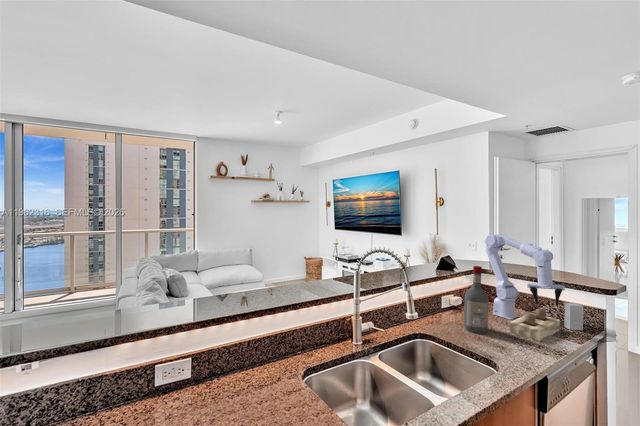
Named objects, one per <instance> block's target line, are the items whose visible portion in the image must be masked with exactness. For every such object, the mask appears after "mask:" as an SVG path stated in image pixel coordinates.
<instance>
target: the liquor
mask: <svg viewBox="0 0 640 426" xmlns="http://www.w3.org/2000/svg"><path fill="white" fill-rule="evenodd" d="M472 269H473V271H472V274H473V277H472V278H473V279H472V284H471V285H472V286H470V288H468V289H467V290H466V291H465V293H464V300H463V301H464V302H463V303H464V305H463V306H464V307H463V326H464V328H465V329H466V331H468V332H471V333H475V334H477V333H478V334H486V333H487V331H488V327H489V326H488V324H489V304H490V303H489V302H490V301H489V299H490V298H489V295H488V294H487V293H486V291H484V289H483V288H482V286H483V285H482V274H483V273H482V271H483V270H482V269H483V267H482V266H480V265H479V266H478V265H473V268H472Z"/></svg>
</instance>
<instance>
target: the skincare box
mask: <svg viewBox="0 0 640 426" xmlns="http://www.w3.org/2000/svg"><path fill="white" fill-rule="evenodd" d="M563 320H564V322H563V324H564V325H563V327H564V328H565V329H568V330H570V331H583V330H584V329H583V328H584V305H582V304H580V303H577V302H564V319H563Z"/></svg>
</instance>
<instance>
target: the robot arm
mask: <svg viewBox="0 0 640 426" xmlns="http://www.w3.org/2000/svg"><path fill="white" fill-rule="evenodd" d="M484 244H485V250H486V251H485V252H486V255H487V257H488V260H489V263H490V265H491V268H492V271H493V274H494V276H495V279H496V282H497V284H496V285H495V289H496V297H495V298H494V300H493V309H492V310H493V311H492V315H494V316H497V317H501V318H504V319H508V320H512V321H513V319H514V320H515V319H517V318H519V317H518V315H515V313H516V312H515V311H516V300H517V298H518V296H519V290H518V288H516V286H515V284H514V283H513V282H511V281H510V280H509V277H508V274H507V272H506V270H505V267H504V264H503V261H502V259H501V255H500V254H499V252H500V250H501V249H502V248H503V247H504V246H505V245H506V246H509V247H512V248H515V249H516V250H520V253H521V254H523V255H525V256H527V257H530V258H531V259H533V260H534V262H535V265H536V271H537V272H536V274H537V283H535V282H534V283H532V282H530V283H529V282H527V288H529V291H530V292H531V294H532V296H533V298H534V300H535V304H539V296H538V289H543V290H545V289H546V290H554V297H555V306H559V300H560V298H561V294H562V293H563V291H566V286H565V285H561V284H553V282H554V281H553V271H552V261H553V259H554V254H553V252H552V251H551V250H549V249H543V248H542V247H537V246H535V245H533V243H531V242H528V243H527V242H525V243H522V242H520V241H518V240H516V239H513V238H512V237H509V236H508V235H506V234H502V233H500V234H488V235H486V237H485V240H484Z"/></svg>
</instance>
